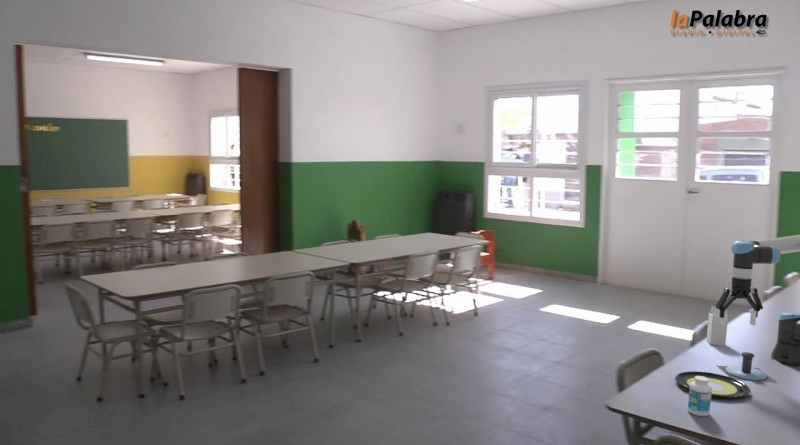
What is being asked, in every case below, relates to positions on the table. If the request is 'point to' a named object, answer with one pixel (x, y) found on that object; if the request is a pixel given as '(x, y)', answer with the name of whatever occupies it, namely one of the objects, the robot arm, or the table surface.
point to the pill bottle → (700, 396)
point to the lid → (746, 369)
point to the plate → (730, 384)
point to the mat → (745, 379)
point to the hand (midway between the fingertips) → (737, 324)
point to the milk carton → (716, 328)
